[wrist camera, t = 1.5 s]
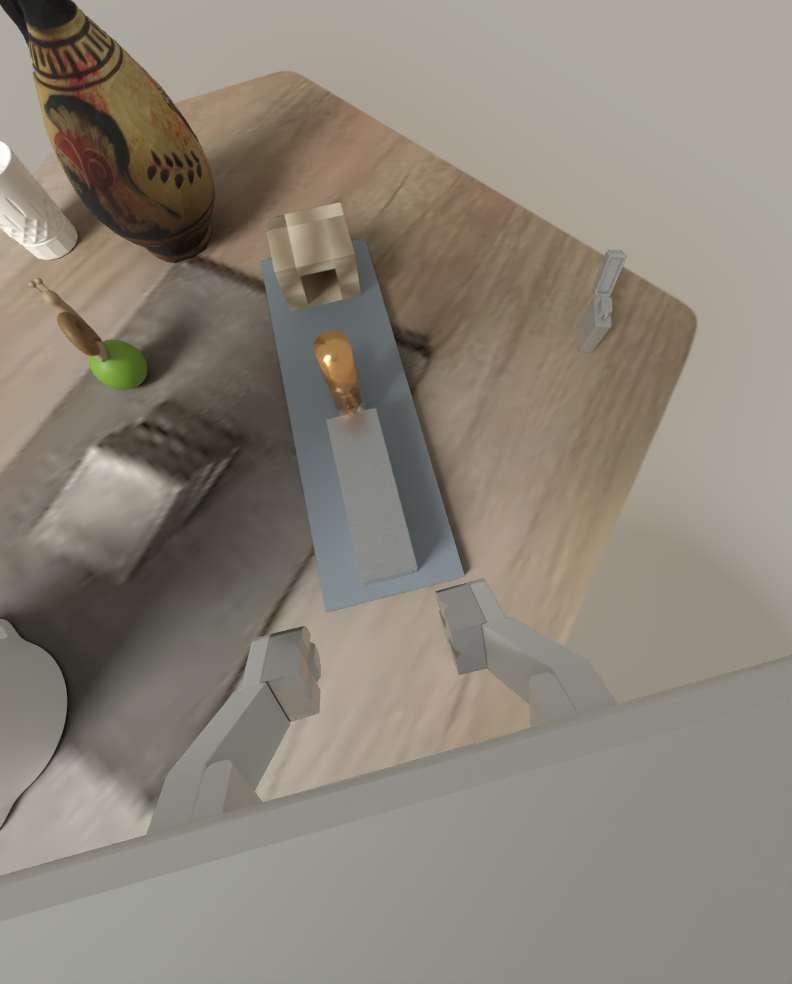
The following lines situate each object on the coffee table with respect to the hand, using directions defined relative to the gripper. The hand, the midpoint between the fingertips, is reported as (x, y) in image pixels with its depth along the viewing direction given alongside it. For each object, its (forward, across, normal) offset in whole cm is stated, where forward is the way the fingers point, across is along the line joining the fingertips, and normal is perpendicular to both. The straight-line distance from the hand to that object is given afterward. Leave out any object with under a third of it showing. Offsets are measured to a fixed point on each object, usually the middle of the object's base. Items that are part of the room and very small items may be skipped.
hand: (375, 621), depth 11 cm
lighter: (+38, -30, +1) cm, 49 cm away
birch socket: (+48, 0, -11) cm, 49 cm away
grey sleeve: (+26, 0, +11) cm, 28 cm away
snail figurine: (+44, +25, -5) cm, 51 cm away
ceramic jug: (+59, +18, -20) cm, 65 cm away
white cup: (+62, +35, -22) cm, 74 cm away
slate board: (+36, 0, +2) cm, 36 cm away
